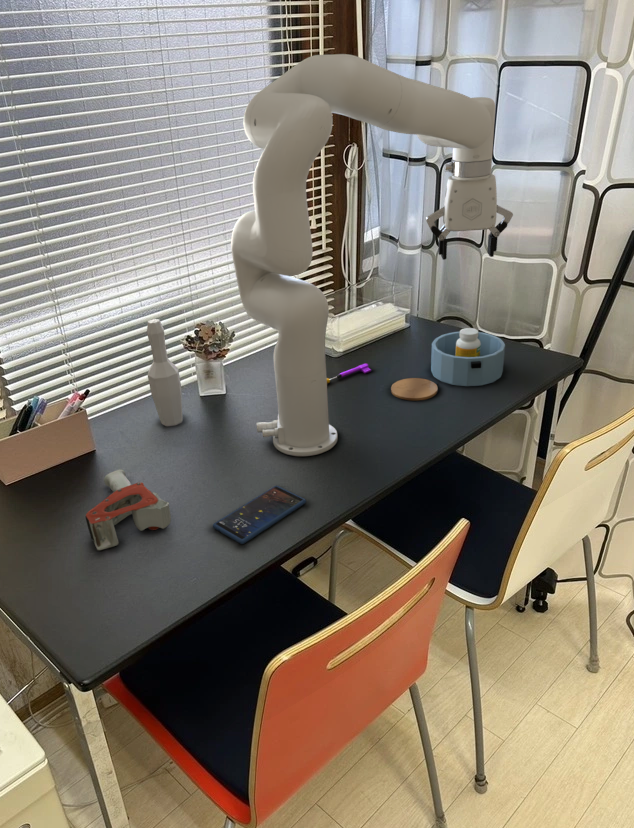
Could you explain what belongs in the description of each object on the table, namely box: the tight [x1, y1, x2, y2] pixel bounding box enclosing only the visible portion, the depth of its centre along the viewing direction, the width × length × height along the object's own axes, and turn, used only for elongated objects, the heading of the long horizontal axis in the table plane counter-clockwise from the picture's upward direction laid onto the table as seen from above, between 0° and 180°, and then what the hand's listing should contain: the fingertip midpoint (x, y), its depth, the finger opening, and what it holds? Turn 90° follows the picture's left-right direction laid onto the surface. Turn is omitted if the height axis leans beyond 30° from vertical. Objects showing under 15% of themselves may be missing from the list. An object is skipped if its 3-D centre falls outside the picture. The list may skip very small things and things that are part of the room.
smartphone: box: [212, 485, 307, 545], centre depth 117 cm, size 8×1×15 cm
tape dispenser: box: [84, 469, 172, 551], centre depth 119 cm, size 18×5×20 cm
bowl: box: [430, 331, 506, 387], centre depth 158 cm, size 16×18×6 cm
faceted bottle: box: [146, 318, 184, 427], centre depth 143 cm, size 6×6×22 cm
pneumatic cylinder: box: [327, 363, 372, 385], centre depth 160 cm, size 3×1×16 cm
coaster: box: [390, 377, 439, 402], centre depth 153 cm, size 10×10×1 cm
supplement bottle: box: [455, 327, 481, 357], centre depth 157 cm, size 5×5×10 cm
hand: (466, 256), depth 147 cm, fingers open, 9 cm apart
